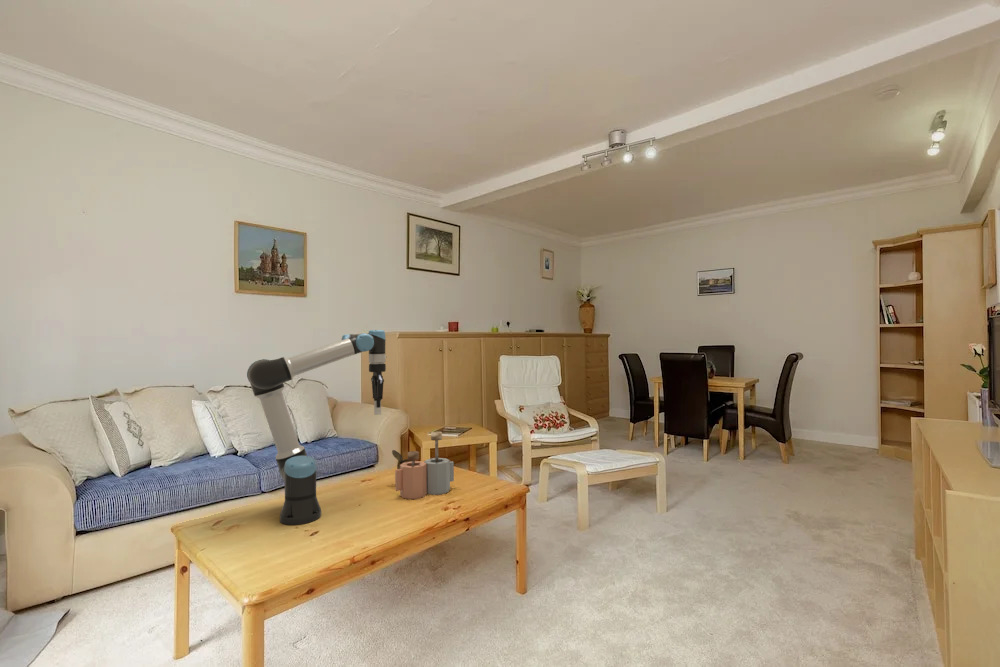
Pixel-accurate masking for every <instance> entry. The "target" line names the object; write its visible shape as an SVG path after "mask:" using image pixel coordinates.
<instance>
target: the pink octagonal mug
mask: <svg viewBox="0 0 1000 667" xmlns="http://www.w3.org/2000/svg"><path fill="white" fill-rule="evenodd" d="M394 471H395V472H394V474H395V475H394V479H395V482H394V486H395V487H394V488H395V491H396V492H398V491H399V495H400V497H401V498H403V499H406V500H417V499H421V498H424V497H426V495H428V494H427V464H426V463H424V461H422V460H421V461H419V460H416V461H415V466H412V461H411V462H404V463H403V464H401V465H400V469H398V470H397V469H395V470H394Z"/></svg>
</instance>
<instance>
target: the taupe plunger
mask: <svg viewBox="0 0 1000 667" xmlns="http://www.w3.org/2000/svg"><path fill="white" fill-rule="evenodd" d="M419 454H420V452H419V451H417V450H412V451H411V450H410V451H408V452H407V459H408V460H409V461H412V466H415V461H419V459H420V455H419Z"/></svg>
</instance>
